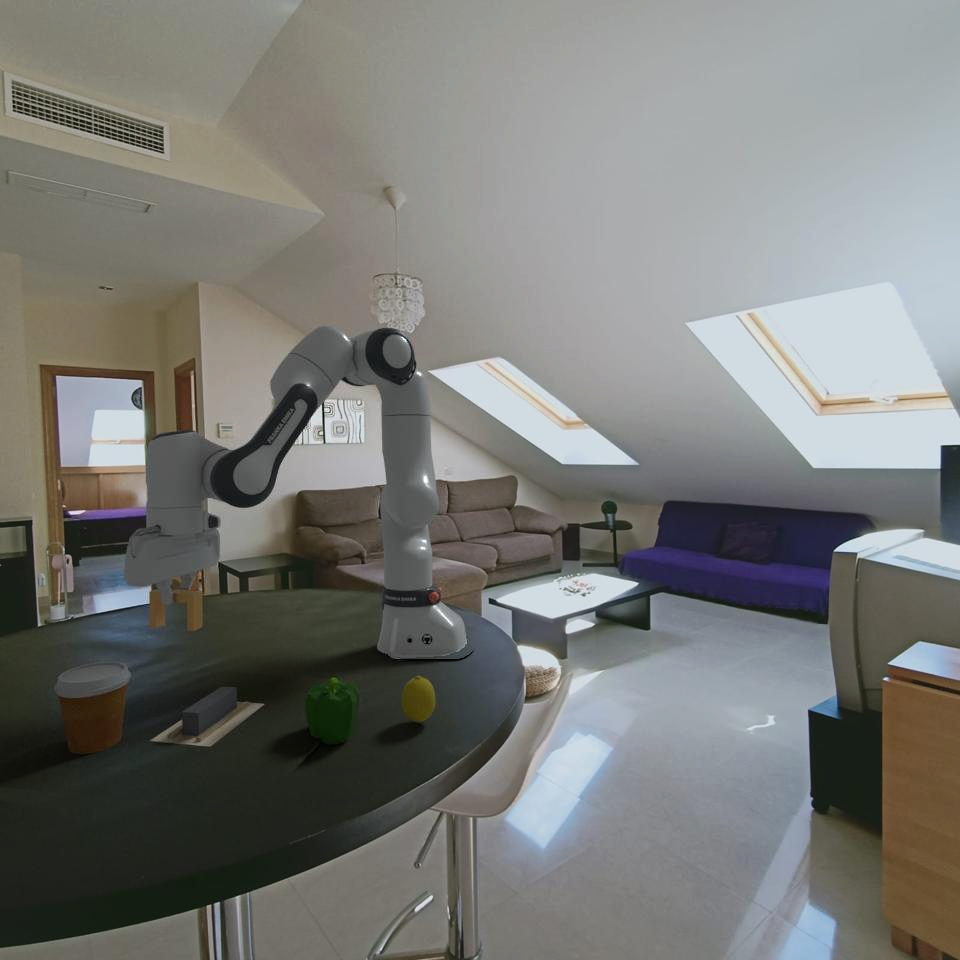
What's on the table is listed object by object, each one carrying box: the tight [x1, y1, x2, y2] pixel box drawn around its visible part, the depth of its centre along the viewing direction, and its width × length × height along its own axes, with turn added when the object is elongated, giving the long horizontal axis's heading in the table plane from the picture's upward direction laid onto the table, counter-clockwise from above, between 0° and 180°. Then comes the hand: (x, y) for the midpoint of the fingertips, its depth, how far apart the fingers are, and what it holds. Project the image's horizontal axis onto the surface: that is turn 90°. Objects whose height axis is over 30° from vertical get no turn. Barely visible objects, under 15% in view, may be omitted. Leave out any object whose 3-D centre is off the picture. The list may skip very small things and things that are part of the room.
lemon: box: [400, 675, 436, 723], centre depth 96 cm, size 6×6×8 cm
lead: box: [181, 686, 238, 736], centre depth 94 cm, size 3×10×4 cm, turn 170°
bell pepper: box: [304, 677, 360, 746], centre depth 91 cm, size 8×8×10 cm
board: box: [149, 701, 265, 748], centre depth 94 cm, size 10×15×2 cm, turn 170°
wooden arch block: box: [148, 588, 204, 632], centre depth 103 cm, size 9×2×6 cm, turn 80°
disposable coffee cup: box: [53, 661, 132, 755], centre depth 87 cm, size 10×10×12 cm
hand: (176, 600), depth 103 cm, fingers closed on wooden arch block, 2 cm apart
